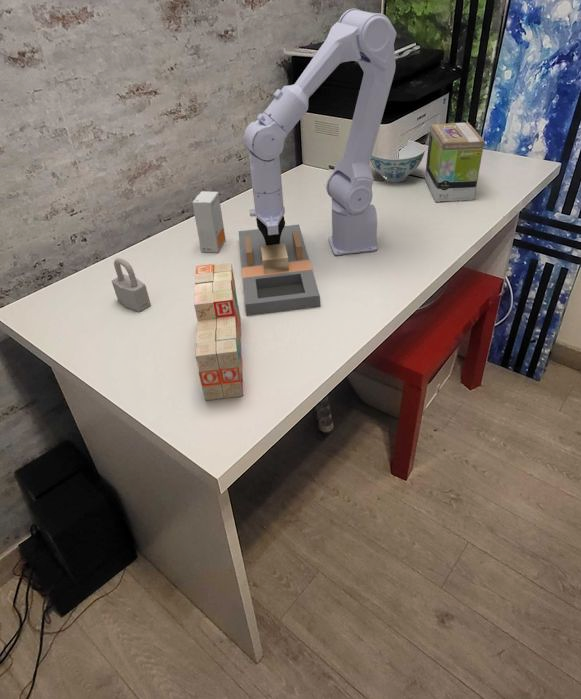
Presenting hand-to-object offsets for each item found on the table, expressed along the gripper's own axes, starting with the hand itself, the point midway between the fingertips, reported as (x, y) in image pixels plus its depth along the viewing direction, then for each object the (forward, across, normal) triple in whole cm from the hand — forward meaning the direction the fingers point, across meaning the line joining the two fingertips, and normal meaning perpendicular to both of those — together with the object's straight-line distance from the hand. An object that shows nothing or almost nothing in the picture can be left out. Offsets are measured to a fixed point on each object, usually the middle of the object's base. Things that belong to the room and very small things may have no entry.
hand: (273, 250), depth 110 cm
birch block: (+1, +4, 0) cm, 4 cm away
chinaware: (+4, -40, +37) cm, 54 cm away
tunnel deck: (+3, +2, 0) cm, 4 cm away
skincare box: (+4, -12, -13) cm, 18 cm away
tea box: (+4, -28, +48) cm, 56 cm away
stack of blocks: (+4, +28, -11) cm, 31 cm away
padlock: (+4, +8, -29) cm, 30 cm away
